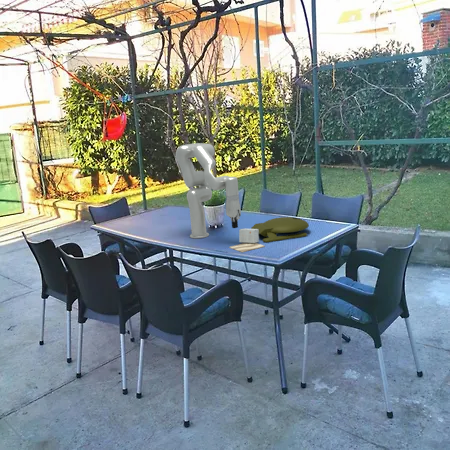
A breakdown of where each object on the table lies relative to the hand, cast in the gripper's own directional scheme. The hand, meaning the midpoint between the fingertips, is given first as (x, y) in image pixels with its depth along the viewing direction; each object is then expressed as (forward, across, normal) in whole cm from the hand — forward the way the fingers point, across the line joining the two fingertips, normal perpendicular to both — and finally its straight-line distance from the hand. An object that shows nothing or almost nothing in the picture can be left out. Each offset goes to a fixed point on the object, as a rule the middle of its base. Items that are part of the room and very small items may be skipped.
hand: (235, 227), depth 285 cm
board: (+10, +12, 0) cm, 16 cm away
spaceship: (+11, +2, +33) cm, 35 cm away
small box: (+5, +1, +3) cm, 6 cm away
